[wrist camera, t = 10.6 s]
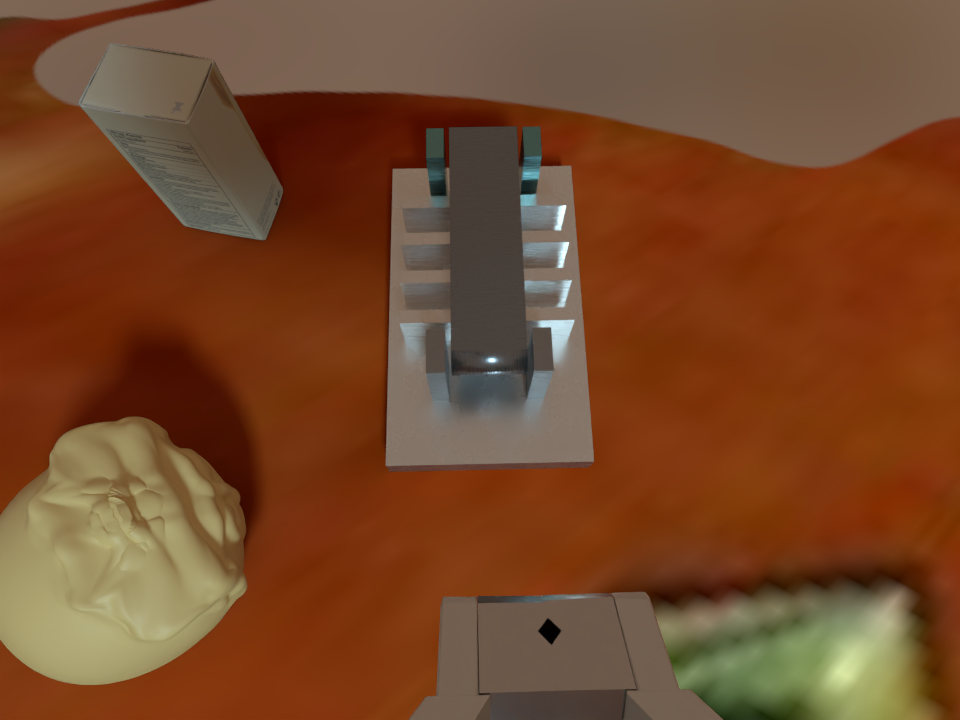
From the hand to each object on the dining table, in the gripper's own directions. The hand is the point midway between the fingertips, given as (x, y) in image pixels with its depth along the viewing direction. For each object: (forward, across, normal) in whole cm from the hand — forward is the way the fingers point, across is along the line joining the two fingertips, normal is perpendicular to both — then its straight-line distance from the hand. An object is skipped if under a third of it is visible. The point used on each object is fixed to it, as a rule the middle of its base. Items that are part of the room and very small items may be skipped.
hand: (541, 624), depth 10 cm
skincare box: (+39, +18, +3) cm, 43 cm away
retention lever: (+25, 0, +8) cm, 26 cm away
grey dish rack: (+33, 0, +9) cm, 34 cm away
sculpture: (+23, +19, +19) cm, 35 cm away
